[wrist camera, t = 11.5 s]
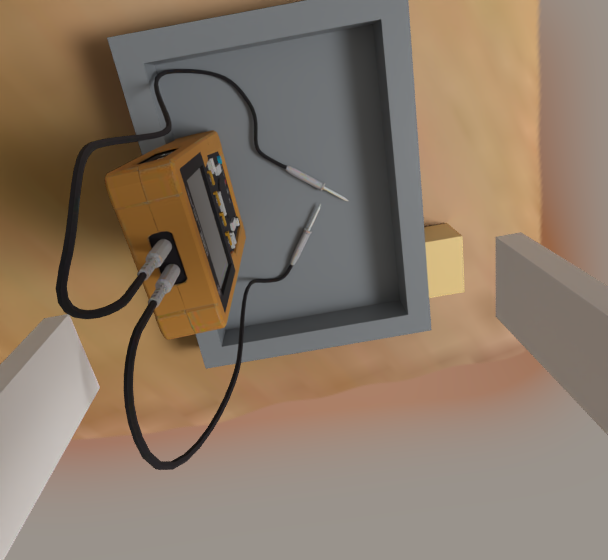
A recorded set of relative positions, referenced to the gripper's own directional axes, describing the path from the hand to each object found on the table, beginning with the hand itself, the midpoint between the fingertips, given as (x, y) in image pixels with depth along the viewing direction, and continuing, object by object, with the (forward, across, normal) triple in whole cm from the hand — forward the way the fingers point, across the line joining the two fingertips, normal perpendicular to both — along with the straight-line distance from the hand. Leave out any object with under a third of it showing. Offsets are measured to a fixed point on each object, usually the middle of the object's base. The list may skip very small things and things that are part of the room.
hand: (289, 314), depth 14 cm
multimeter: (+18, -1, +1) cm, 18 cm away
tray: (+18, +2, 0) cm, 18 cm away
